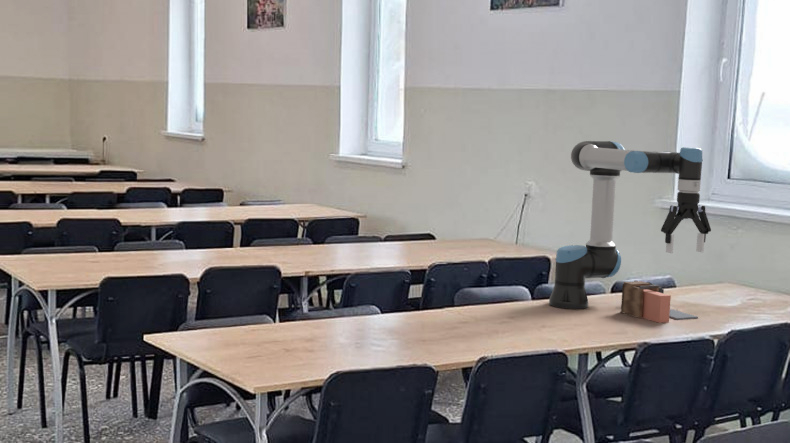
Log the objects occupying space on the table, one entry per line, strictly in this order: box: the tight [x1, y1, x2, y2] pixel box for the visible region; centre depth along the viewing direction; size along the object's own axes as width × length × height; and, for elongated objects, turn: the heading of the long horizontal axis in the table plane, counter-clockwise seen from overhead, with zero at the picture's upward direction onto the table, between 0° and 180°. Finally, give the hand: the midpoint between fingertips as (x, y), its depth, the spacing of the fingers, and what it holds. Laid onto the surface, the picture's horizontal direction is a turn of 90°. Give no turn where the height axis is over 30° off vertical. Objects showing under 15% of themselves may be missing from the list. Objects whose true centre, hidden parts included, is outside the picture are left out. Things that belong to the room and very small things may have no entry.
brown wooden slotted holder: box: [620, 280, 660, 319], centre depth 373 cm, size 11×8×12 cm
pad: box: [669, 309, 699, 321], centre depth 374 cm, size 14×10×1 cm
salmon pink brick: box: [642, 289, 672, 324], centre depth 365 cm, size 13×4×10 cm, turn 24°
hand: (684, 252), depth 344 cm, fingers open, 13 cm apart
